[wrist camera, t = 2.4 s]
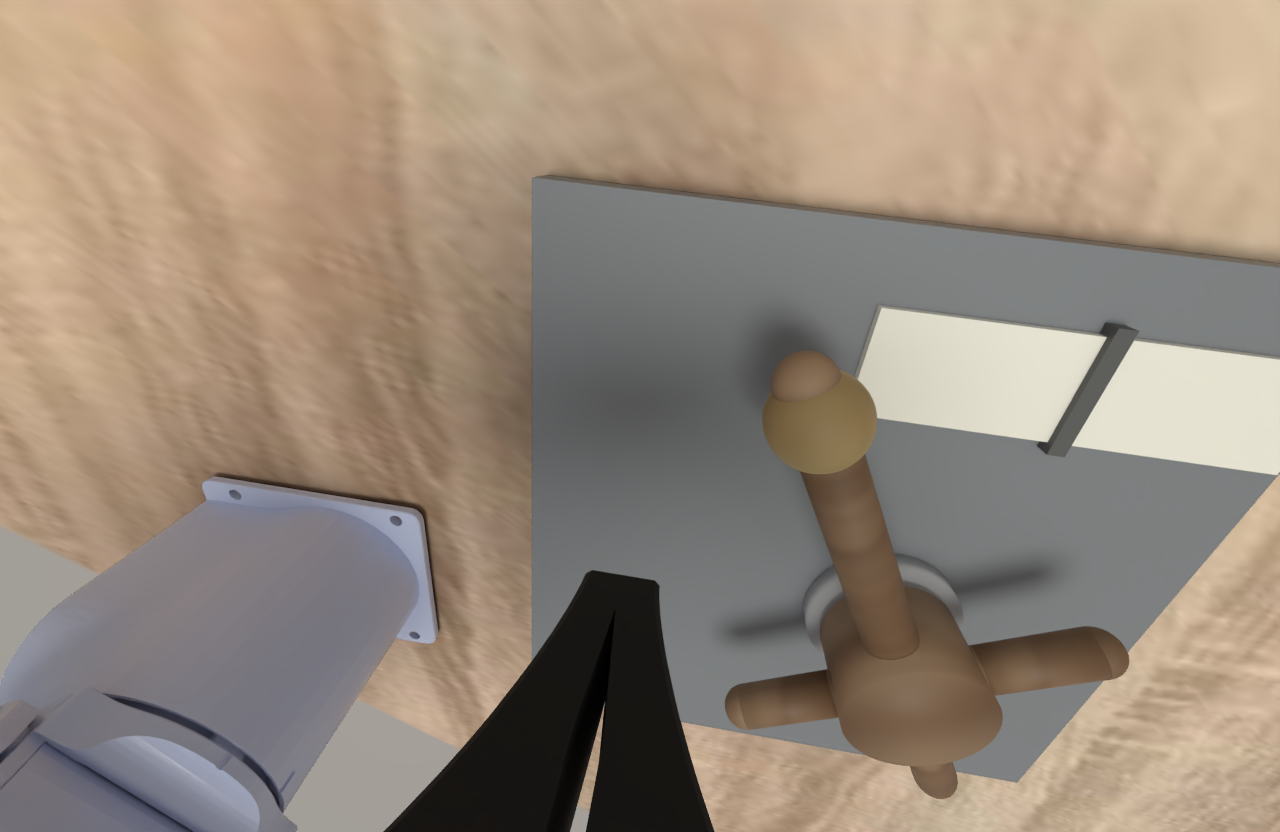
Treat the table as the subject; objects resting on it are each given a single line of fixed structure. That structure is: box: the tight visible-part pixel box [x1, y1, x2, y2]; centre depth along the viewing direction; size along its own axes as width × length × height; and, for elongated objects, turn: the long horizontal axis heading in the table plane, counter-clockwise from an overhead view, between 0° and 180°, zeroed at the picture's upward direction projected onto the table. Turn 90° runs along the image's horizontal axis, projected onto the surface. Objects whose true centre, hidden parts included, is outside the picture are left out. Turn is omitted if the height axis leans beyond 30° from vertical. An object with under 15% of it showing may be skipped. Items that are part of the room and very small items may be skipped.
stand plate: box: [532, 175, 1280, 782], centre depth 18 cm, size 22×22×2 cm
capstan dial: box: [725, 350, 1129, 799], centre depth 15 cm, size 18×12×3 cm
